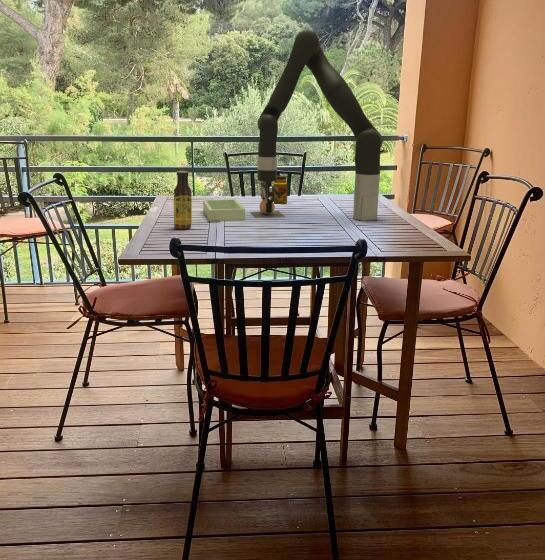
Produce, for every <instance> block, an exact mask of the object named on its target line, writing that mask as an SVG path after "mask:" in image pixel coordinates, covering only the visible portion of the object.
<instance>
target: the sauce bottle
mask: <svg viewBox="0 0 545 560" xmlns="http://www.w3.org/2000/svg"><path fill="white" fill-rule="evenodd" d="M189 175H190V173H189V171H186V170H179V171H178V170H177V171H176V179H177V182H176V186H175V188H174V190H173V227H174V229H176V230H188V229H191V228H192V222H193V221H192V219H193V218H192V217H193V216H192V212H193V211H192V209H193V207H192V204H193V201H192V199H193V198H192V189H191V187H190V185H189Z"/></svg>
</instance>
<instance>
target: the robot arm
mask: <svg viewBox="0 0 545 560" xmlns="http://www.w3.org/2000/svg"><path fill="white" fill-rule="evenodd" d="M286 62H287V63H286V64H285V67H284V70H283V71H282V74H281V76H280V78H279V79H278V81H277V83H276V85H275V87H274V88H273V90H272V92H271V95H270V97H269V99H268V102H267V104H266V105H265V107H264V109H263V110H262V112H261V113H260V114H259V115H260V116H259V117H258V120H257V122H256V123H257V124H256V125H257V128H258V130H259V142H258V147H257V165H256V166H257V169H256V170H257V175H256V176H257V177H256V178H257V181H258V182H260V198H261V201H263V200H264V199H266V212H267V213H271V212H272V203H273V202H274V187H273V185H272V184H273V183H272V182H274V181H276V180H277V176H278V161H277V141H278V140H277V139H278V131H279V123H278V121H279V119H280V117H281V116H282V114H283V112H285V110H286V109H287V107H288V105H289V103H290V100H291V99H292V97H293V95H294V92H295V89H296V88H297V85H298V82H299V80H300V77H301V74H302V72H303V71H304V69H305V66H306V67H307V69H308V70H309V71H310V72H311V74H312V75H313V77H314V78H315V81H316V83H317V85H318V87H319V90H320V91H321V93H322V94H323V96H324V98H325V100H326V101H327V102H328V105H330V106H331V108H332V110H333V111H334V112H335V113H336V114H337V115H338V117H340V119H342V121H344V123H346V125H347V126H348V127H349V129H350V131H351V132H352V134H353V135H354V137H355V139H356V140H355V148H354V149H355V150H354V154H355V155H354V167H355V170H354V171H355V173H354V174H355V175H354V176H355V177H354V192H353V210H352V211H353V212H352V219H354V220H358V221H366V222H367V221H377V220H378V212H379V211H378V210H379V195H380V178H381V149H382V147H383V144H384V143H383V142H384V139H383V136H382V134H381V133H380V132H379V130H377V128H376V127H375V126H374V125H373V124H372V122H371V121H370V120H369V119H368V117H367V116H366V114H365V113H364V112H365V111H364V110H363V109H362V107H361V105H360V103H359V101H358V99H357V97H356V96H355V94H354V92H353V90H352V89H351V88H350V86H349V84H348V83H347V81H346V80H345V79H344V77H343V76H342V75H341V74H340V73H339V72H338V70H336V69H335V67H334V66H332V65H333V64H331V62H330V61H329V59H328V58H327V56H326V54H325V53H324V51H323V49H322V47H321V45H320V39H319V37H318V35H317V33H316V32H315V31H314V30H310V29H304V30H302V31H300V32H298V33H297V35H296V36H295V38H294V42H293V45H292V49H291V52H290V55H289V57H288V61H286Z"/></svg>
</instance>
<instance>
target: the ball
mask: <svg viewBox="0 0 545 560" xmlns="http://www.w3.org/2000/svg"><path fill="white" fill-rule="evenodd" d="M275 207H276V205H274V203H272V212H273V211H275V209H276V208H275ZM259 210H260V211H259V212H262V213H263V214H271V213H272V212H271V213H267V212H266V199H264V200H263V201H262V200H261V201H260V202H259Z"/></svg>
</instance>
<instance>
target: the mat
mask: <svg viewBox="0 0 545 560" xmlns="http://www.w3.org/2000/svg"><path fill="white" fill-rule="evenodd" d="M249 213H250V215H252V216H253V218H255V219H258V218H260V219H261V218H262V219H263V218H285V217H286V216H285V214H283V213H281V211H279V210H274V211H273V212H272V213H271V214H263V213H262V212H261V211H249Z"/></svg>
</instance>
